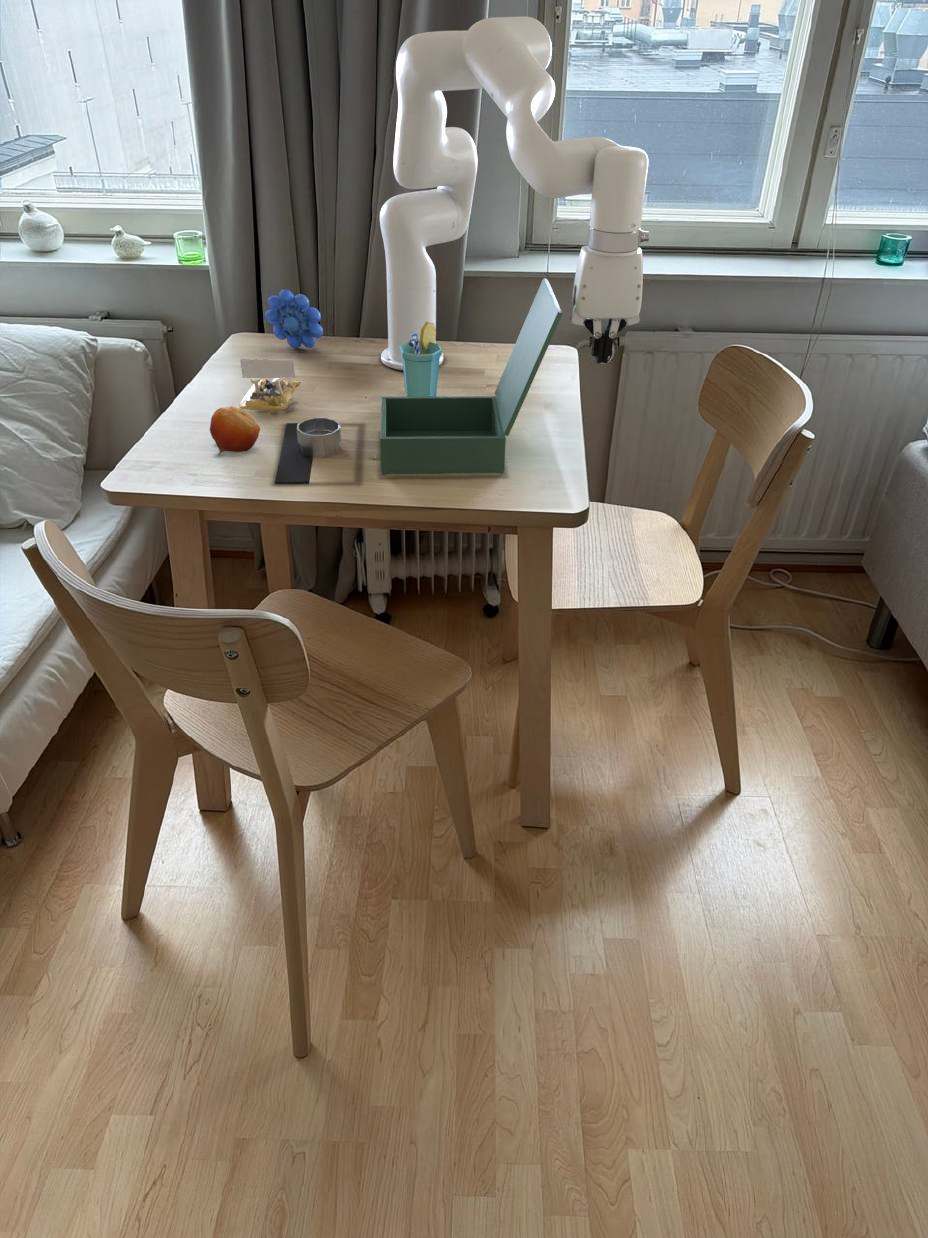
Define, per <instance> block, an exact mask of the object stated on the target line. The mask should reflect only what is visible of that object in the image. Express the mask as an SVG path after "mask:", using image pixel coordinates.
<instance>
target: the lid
mask: <svg viewBox="0 0 928 1238" xmlns="http://www.w3.org/2000/svg"><path fill="white" fill-rule="evenodd" d="M563 315H564V313H563V311H562V309H561V307H560V304H559V302H558V300H557V298H556V295H555V293H554V291H553V288H552V286H551V283H550V281H549V279H547V278H544V277H543V278H542V280H541V283H540V285H539V288H538V290H537V292H536V294H535V297H534V299H533V302H532V304H531V306H530V309H529V310H528V313H527V316H526V317H525V320H524V323H523V325H522V327H521V329H520V332H519V334H518V337H517V339H516V341H515V344H514V346H513V349H512V351H511V353H510V355H509V357H508V360H507V363H506V365H505V367H504V370H503V372H502V374H501V377H500V379H499V381H498V384H497V386H496V388H495V390H494V396H495V397H496V401H497V406H498V410H499V415H500V419H501V424H502V428H503V433H504V435H505V436H506V437H509V436H510V433H511V431H512V430H513V427H514V425H515V422H516V420H517V417H518V416H519V413H520V411H521V409H522V406H523V404H524V402H525V400H526V397H527V395H528V393H529V391H530V388H531V386H532V385H533V382H534V379H535V377H536V375H537V373H538V370H539V369H540V366H541V364H542V361H543V360H544V357H545V355H546V352H547V350H548V348H549V346H550V344H551V342H552V339H553V337H554V334H555V332H556V330H557V328H558V326H559V323H560V321H561V319H562V316H563Z"/></svg>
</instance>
